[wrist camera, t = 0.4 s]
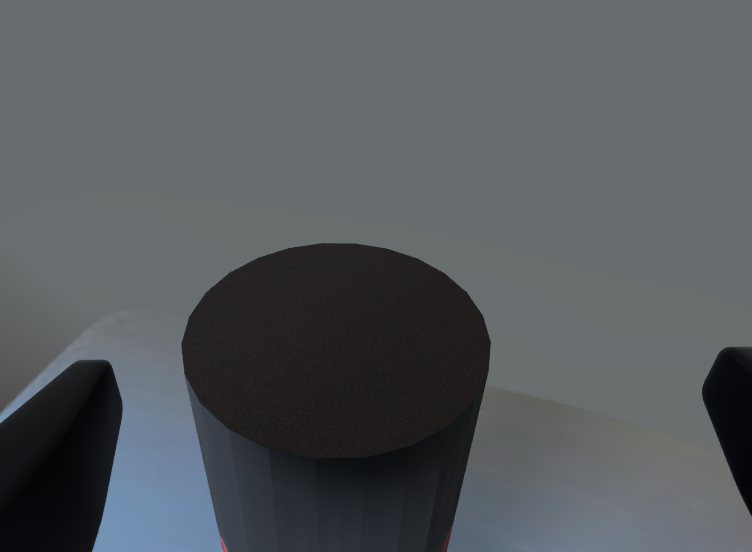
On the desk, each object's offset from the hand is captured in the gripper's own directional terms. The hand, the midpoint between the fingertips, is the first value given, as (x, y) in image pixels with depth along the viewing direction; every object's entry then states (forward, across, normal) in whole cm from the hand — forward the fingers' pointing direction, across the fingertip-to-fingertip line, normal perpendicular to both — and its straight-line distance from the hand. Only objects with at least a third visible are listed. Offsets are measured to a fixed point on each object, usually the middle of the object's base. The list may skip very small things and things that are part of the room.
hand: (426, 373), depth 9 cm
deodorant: (+3, +1, +17) cm, 17 cm away
